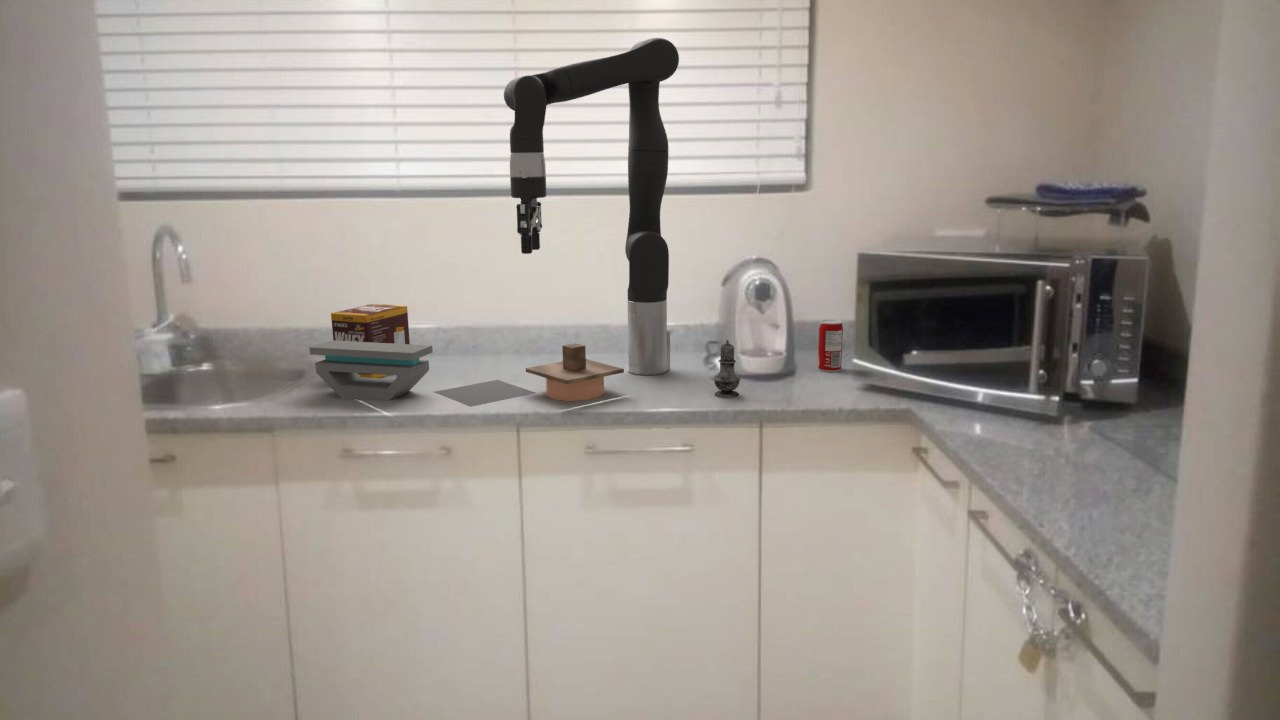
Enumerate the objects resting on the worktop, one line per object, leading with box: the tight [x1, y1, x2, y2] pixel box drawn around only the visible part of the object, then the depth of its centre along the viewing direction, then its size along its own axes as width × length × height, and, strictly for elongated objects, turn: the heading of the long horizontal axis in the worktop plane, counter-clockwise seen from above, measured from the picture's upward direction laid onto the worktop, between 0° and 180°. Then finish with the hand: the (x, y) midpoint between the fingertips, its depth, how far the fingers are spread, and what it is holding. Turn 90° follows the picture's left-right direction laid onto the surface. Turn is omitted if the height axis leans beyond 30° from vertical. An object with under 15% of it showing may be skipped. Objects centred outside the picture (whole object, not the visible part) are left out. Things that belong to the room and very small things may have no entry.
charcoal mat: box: [434, 379, 537, 407], centre depth 185 cm, size 16×16×1 cm
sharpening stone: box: [308, 339, 433, 401], centre depth 184 cm, size 25×8×11 cm, turn 74°
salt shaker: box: [712, 339, 742, 399], centre depth 182 cm, size 6×6×12 cm
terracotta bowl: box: [545, 377, 605, 402], centre depth 183 cm, size 12×12×5 cm
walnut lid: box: [525, 342, 625, 384], centre depth 182 cm, size 15×15×6 cm
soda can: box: [817, 319, 844, 373], centre depth 203 cm, size 6×6×12 cm
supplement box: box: [330, 303, 411, 379], centre depth 205 cm, size 10×15×16 cm
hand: (530, 251), depth 185 cm, fingers open, 8 cm apart
